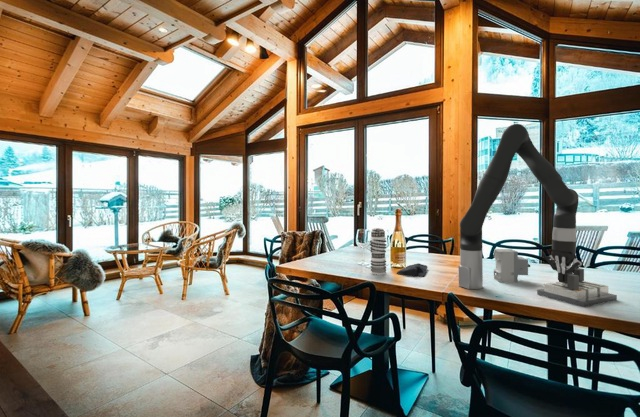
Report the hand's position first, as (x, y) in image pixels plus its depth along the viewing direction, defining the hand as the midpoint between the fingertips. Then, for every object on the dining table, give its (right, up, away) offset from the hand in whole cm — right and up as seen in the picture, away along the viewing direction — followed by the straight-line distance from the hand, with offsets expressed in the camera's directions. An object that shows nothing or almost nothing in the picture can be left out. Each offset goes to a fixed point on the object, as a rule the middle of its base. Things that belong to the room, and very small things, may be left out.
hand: (562, 282), depth 124 cm
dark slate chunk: (-44, -7, +52) cm, 68 cm away
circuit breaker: (-2, -6, +29) cm, 30 cm away
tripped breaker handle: (+1, -1, -4) cm, 4 cm away
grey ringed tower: (-64, -7, +51) cm, 82 cm away
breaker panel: (+7, -7, +2) cm, 10 cm away
